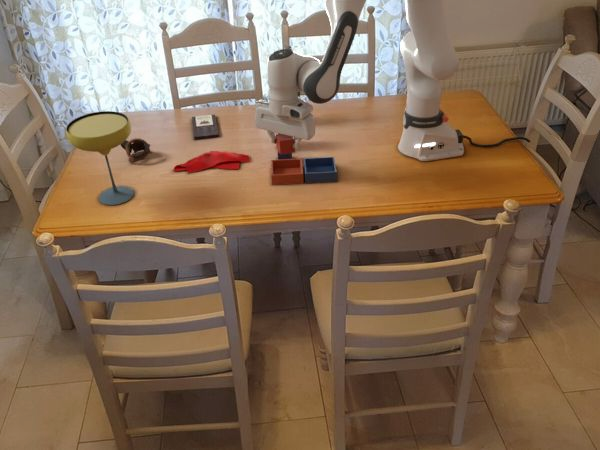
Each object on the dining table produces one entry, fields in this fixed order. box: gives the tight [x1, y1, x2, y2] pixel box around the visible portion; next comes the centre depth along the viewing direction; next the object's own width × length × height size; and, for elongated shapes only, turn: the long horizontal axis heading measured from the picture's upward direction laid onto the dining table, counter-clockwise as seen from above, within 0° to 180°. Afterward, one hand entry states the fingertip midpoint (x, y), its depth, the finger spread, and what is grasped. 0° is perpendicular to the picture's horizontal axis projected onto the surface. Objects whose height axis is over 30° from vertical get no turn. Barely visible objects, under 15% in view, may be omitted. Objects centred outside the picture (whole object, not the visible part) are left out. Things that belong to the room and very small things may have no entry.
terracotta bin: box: [270, 157, 305, 186], centre depth 184 cm, size 10×10×4 cm
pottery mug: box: [119, 138, 152, 165], centre depth 196 cm, size 12×10×8 cm
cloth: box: [172, 150, 251, 174], centre depth 193 cm, size 26×14×2 cm, turn 94°
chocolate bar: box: [191, 114, 219, 140], centre depth 215 cm, size 9×1×18 cm
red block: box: [275, 133, 296, 155], centre depth 178 cm, size 5×5×5 cm
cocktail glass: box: [65, 110, 135, 206], centre depth 171 cm, size 18×18×25 cm
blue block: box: [277, 150, 293, 160], centre depth 191 cm, size 5×5×5 cm
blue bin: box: [302, 156, 338, 184], centre depth 184 cm, size 10×10×4 cm
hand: (285, 145), depth 178 cm, fingers closed on red block, 7 cm apart
